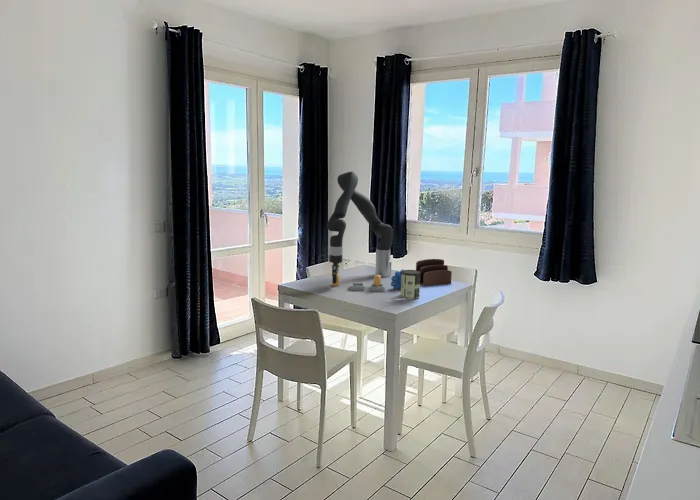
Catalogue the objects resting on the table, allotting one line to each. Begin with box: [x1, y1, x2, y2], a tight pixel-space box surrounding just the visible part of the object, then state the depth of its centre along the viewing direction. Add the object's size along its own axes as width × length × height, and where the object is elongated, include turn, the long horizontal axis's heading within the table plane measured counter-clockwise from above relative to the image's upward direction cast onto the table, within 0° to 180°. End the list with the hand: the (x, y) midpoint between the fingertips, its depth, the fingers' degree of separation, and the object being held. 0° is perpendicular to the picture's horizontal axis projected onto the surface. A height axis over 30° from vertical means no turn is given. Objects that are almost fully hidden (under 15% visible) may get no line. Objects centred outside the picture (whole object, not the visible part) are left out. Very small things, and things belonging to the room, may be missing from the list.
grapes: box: [390, 269, 404, 290], centre depth 292 cm, size 12×7×12 cm, turn 109°
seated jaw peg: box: [373, 274, 382, 287], centre depth 288 cm, size 4×4×8 cm
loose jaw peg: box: [331, 273, 340, 289], centre depth 295 cm, size 4×4×8 cm
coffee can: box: [400, 269, 421, 300], centre depth 278 cm, size 10×10×14 cm
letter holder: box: [415, 258, 453, 286], centre depth 311 cm, size 10×20×14 cm, turn 113°
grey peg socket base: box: [348, 282, 386, 293], centre depth 289 cm, size 20×11×4 cm, turn 86°
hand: (335, 281), depth 295 cm, fingers open, 8 cm apart
